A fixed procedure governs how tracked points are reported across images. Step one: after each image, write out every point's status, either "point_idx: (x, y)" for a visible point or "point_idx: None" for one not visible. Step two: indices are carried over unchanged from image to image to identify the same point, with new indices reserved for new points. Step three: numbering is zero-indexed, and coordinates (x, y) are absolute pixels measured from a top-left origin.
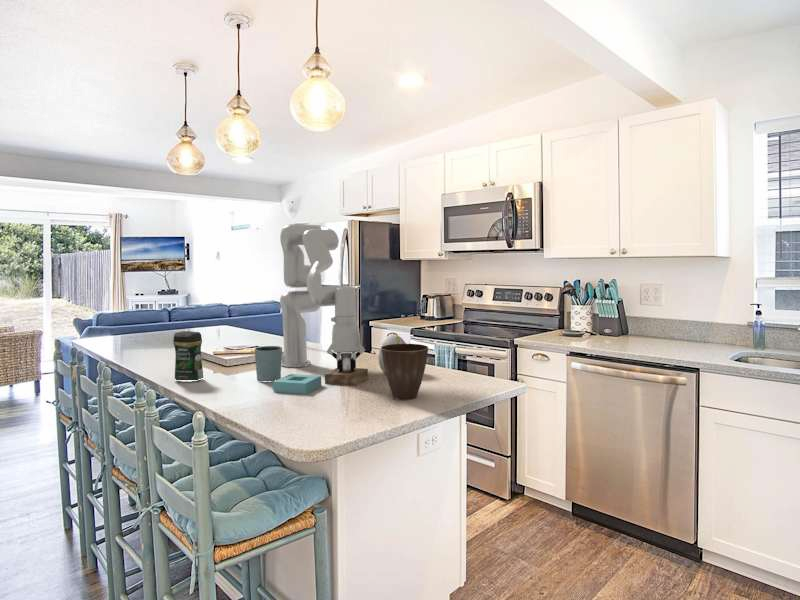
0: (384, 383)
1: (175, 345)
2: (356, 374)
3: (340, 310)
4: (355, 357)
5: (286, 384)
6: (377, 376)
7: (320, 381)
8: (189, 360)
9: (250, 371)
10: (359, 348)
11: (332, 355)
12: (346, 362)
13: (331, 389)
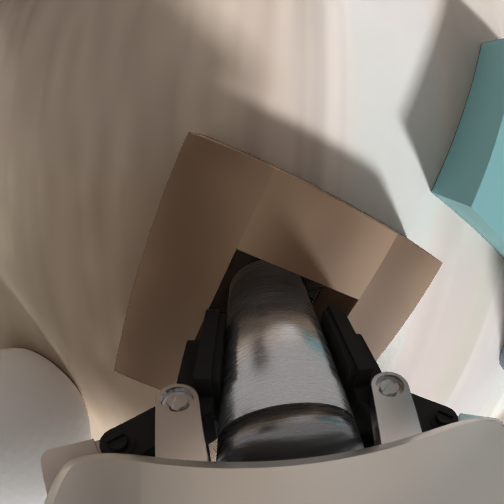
0: (35, 175)
1: None
2: (183, 180)
3: None
4: (167, 409)
5: None
6: (91, 349)
7: (452, 187)
8: None
9: (500, 413)
10: (56, 480)
11: (449, 411)
12: (286, 352)
13: (380, 68)
